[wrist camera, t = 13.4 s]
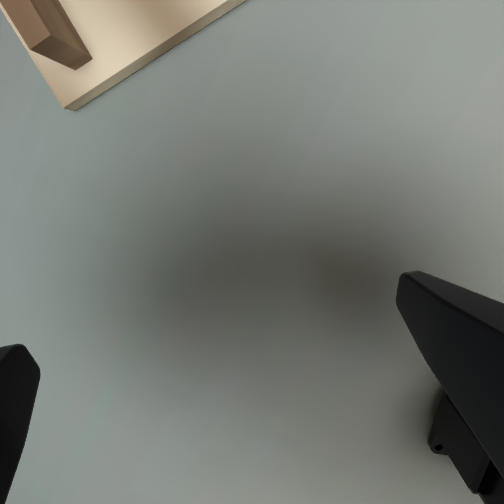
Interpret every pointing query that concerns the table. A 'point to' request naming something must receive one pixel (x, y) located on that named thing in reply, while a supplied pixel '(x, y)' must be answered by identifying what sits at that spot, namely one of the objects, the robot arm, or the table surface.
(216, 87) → the table surface
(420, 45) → the table surface
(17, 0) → the slot rack
